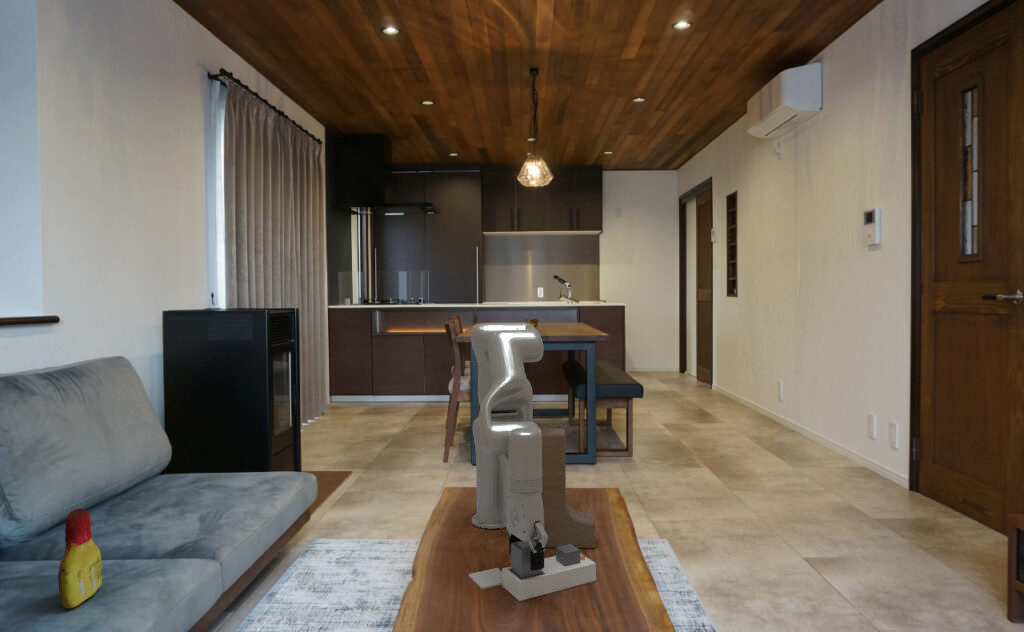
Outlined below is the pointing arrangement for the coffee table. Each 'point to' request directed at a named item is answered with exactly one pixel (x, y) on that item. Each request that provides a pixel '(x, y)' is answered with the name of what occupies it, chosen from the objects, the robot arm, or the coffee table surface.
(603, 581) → the coffee table surface
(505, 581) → the power strip
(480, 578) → the felt pad
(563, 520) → the decorative block
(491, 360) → the robot arm
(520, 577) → the block
